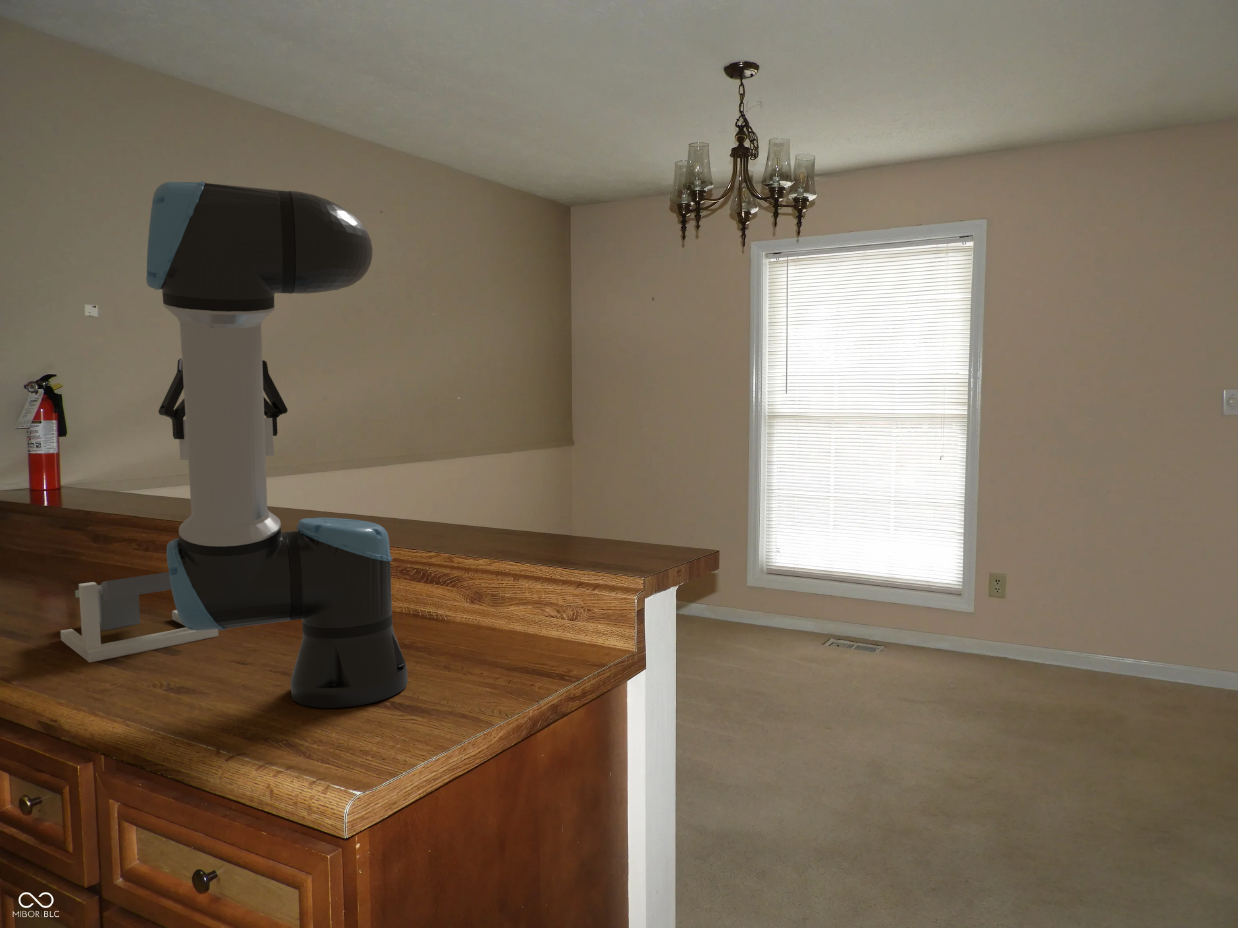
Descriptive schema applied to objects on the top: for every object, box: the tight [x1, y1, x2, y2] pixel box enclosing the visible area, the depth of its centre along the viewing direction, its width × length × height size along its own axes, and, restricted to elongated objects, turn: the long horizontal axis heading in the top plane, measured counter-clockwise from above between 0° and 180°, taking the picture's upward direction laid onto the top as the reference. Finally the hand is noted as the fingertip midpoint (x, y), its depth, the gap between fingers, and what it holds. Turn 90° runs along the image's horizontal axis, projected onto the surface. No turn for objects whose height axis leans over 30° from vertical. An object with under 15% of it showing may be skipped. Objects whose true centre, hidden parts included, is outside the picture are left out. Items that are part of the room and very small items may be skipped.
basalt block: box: [98, 594, 141, 632], centre depth 147 cm, size 6×6×7 cm
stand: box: [60, 581, 219, 663], centre depth 138 cm, size 18×19×12 cm
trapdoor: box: [74, 571, 172, 600], centre depth 137 cm, size 18×14×3 cm
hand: (228, 457), depth 139 cm, fingers open, 13 cm apart
